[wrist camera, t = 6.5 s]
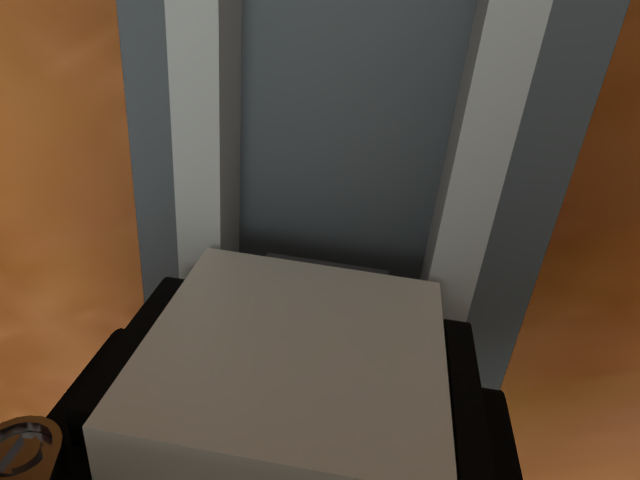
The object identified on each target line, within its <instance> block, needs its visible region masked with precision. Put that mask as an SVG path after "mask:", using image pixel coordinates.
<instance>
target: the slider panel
mask: <svg viewBox="0 0 640 480" xmlns="http://www.w3.org/2000/svg"><path fill="white" fill-rule="evenodd" d="M629 3H630V0H116V5H117V16H118V26H119V37H120V47H121V58H122V69H123V79H124V90H125V101H126V111H127V122H128V133H129V143H130V154H131V165H132V175H133V186H134V197H135V207H136V218H137V228H138V239H139V250H140V260H141V271H142V282H143V292H144V303H145V302H146V301H147V299H148V298H149V297H150V295H151V294H152V293H153V292H154V290H155V289H156V288H157V286H158V285H159V284H160V282H161V281H162V280H163V279H164V278H165V277H173V278H180V279H186V277H187V276H188V274H189V273H190V271H191V270H192V269H193V267H194V266H195V264H196V263H197V261H198V260H199V259H200V257H201V256H202V254H203V253H204V251H205V250H206V249H207V248H213V249H220V250H226V251H233V252H239V253H246V254H253V255H259V256H266V254H267V252H268V253H275V254H281V255H288V256H295V257H301V258H308V259H315V260H321V261H328V262H335V263H341V264H348V265H355V266H361V267H368V268H375V269H381V270H388V271H389V274H388V275H392V276H398V277H405V278H412V279H418V280H425V281H431V282H438V283H440V291H441V302H442V313H443V320H444V319H449V320H456V321H462V322H469V323H471V326H472V332H473V338H474V344H475V350H476V356H477V363H478V369H479V375H480V381H481V387H483V388H489V389H495V390H500V387H501V384H502V381H503V378H504V375H505V372H506V369H507V367H508V364H509V361H510V358H511V355H512V352H513V349H514V346H515V343H516V340H517V337H518V334H519V331H520V328H521V325H522V322H523V319H524V316H525V313H526V310H527V307H528V304H529V301H530V298H531V295H532V292H533V289H534V286H535V283H536V280H537V277H538V274H539V271H540V268H541V265H542V262H543V259H544V256H545V253H546V250H547V247H548V244H549V241H550V238H551V235H552V232H553V229H554V226H555V223H556V220H557V218H558V215H559V212H560V209H561V206H562V203H563V200H564V197H565V194H566V191H567V188H568V185H569V182H570V179H571V176H572V173H573V170H574V167H575V164H576V161H577V158H578V155H579V152H580V149H581V146H582V143H583V140H584V137H585V134H586V131H587V128H588V125H589V122H590V119H591V116H592V113H593V110H594V107H595V104H596V101H597V98H598V95H599V92H600V89H601V86H602V83H603V80H604V77H605V74H606V72H607V69H608V66H609V63H610V60H611V57H612V54H613V51H614V48H615V45H616V42H617V39H618V36H619V33H620V30H621V27H622V24H623V21H624V18H625V15H626V12H627V9H628V6H629Z"/></svg>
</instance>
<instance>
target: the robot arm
mask: <svg viewBox="0 0 640 480" xmlns="http://www.w3.org/2000/svg"><path fill="white" fill-rule="evenodd" d="M184 280H185V279H180V278H173V277H165V278H164V279H163V280H162V281H161V282H160V284H159V285H158V286H157V288H156V289H155V290H154V292H153V293H152V294H151V295H150V297H149V298H148V299H147V301H146V302H145V303H144V305H143V306H142V307H141V309H140V310H139V311H138V312H137V314H136V315H135V316H134V318H133V319H132V320H131V322H130V323H129V324H128V326H127V327H126V328H125V329H122V328H120V329H117V330H115V331H114V332H113V333H112V334H111V336H110V337H109V338H108V339H107V341H106V342H105V343H104V344H103V346H102V347H101V348H100V350H99V351H98V352H97V353H96V355H95V356H94V357H93V358H92V360H91V361H90V362H89V363H88V365H87V366H86V367H85V369H84V370H83V371H82V372H81V374H80V375H79V376H78V377H77V379H76V380H75V381H74V382H73V384H72V385H71V386H70V388H69V389H68V390H67V391H66V393H65V394H64V395H63V396H62V398H61V399H60V400H59V401H58V403H57V404H56V405H55V407H54V408H53V409H52V410H51V412H50V413H49V414H48V415H47V417H43V416H31V415H30V416H23V417H17V418H14V419H11V420H8V421H5V422H2V423H0V480H92V476H91V471H90V465H89V460H88V455H87V449H86V444H85V439H84V434H83V428H82V426H83V425H84V424H85V422H86V421H87V419H88V418H89V416H90V415H91V414H92V412H93V411H94V409H95V408H96V406H97V405H98V403H99V402H100V401H101V399H102V398H103V396H104V395H105V393H106V392H107V391H108V389H109V388H110V386H111V385H112V383H113V382H114V381H115V379H116V378H117V376H118V375H119V373H120V372H121V370H122V369H123V368H124V366H125V365H126V363H127V362H128V360H129V359H130V358H131V356H132V355H133V353H134V352H135V350H136V349H137V348H138V346H139V345H140V343H141V342H142V340H143V339H144V337H145V336H146V335H147V333H148V332H149V330H150V329H151V327H152V326H153V325H154V323H155V322H156V320H157V319H158V317H159V316H160V315H161V313H162V312H163V310H164V309H165V307H166V306H167V304H168V303H169V302H170V300H171V299H172V297H173V296H174V294H175V293H176V292H177V290H178V289H179V287H180V286H181V284H182V283H183V282H184ZM443 325H444V336H445V347H446V359H447V370H448V381H449V393H450V404H451V415H452V426H453V438H454V449H455V460H456V472H457V480H523V478H522V473H521V468H520V464H519V459H518V454H517V450H516V445H515V440H514V435H513V431H512V426H511V421H510V417H509V412H508V407H507V403H506V398H505V395H504V393H503V392H502V391H501V390H495V389H489V388H483V387H481V381H480V375H479V369H478V363H477V356H476V350H475V344H474V338H473V332H472V326H471V323H469V322H462V321H456V320H449V319H444V320H443Z"/></svg>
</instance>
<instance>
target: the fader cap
mask: <svg viewBox="0 0 640 480" xmlns="http://www.w3.org/2000/svg"><path fill="white" fill-rule="evenodd" d="M388 274H389V271H388V270H381V269H375V268H368V267H361V266H355V265H348V264H341V263H335V262H328V261H321V260H315V259H308V258H301V257H295V256H288V255H281V254H275V253H268V252H267V254H266V256H259V255H253V254H246V253H239V252H233V251H226V250H220V249H213V248H207V249H206V250H205V251H204V253H203V254H202V256H201V257H200V259H199V260H198V261H197V263H196V264H195V266H194V267H193V269H192V270H191V271H190V273H189V274H188V276H187V277H186V279H185V280H184V282H183V283H182V284H181V286H180V287H179V289H178V290H177V292H176V293H175V294H174V296H173V297H172V299H171V300H170V302H169V303H168V304H167V306H166V307H165V309H164V310H163V312H162V313H161V315H160V316H159V317H158V319H157V320H156V322H155V323H154V325H153V326H152V327H151V329H150V330H149V332H148V333H147V335H146V336H145V337H144V339H143V340H142V342H141V343H140V345H139V346H138V348H137V349H136V350H135V352H134V353H133V355H132V356H131V358H130V359H129V360H128V362H127V363H126V365H125V366H124V368H123V369H122V370H121V372H120V373H119V375H118V376H117V378H116V379H115V381H114V382H113V383H112V385H111V386H110V388H109V389H108V391H107V392H106V393H105V395H104V396H103V398H102V399H101V401H100V402H99V403H98V405H97V406H96V408H95V409H94V411H93V412H92V414H91V415H90V416H89V418H88V419H87V421H86V422H85V424H84V425H83V426H82V428H83V434H84V439H85V444H86V449H87V455H88V460H89V465H90V471H91V476H92V480H457V472H456V460H455V449H454V438H453V426H452V415H451V404H450V393H449V381H448V370H447V359H446V347H445V336H444V325H443V313H442V302H441V291H440V283H438V282H431V281H425V280H418V279H412V278H405V277H398V276H392V275H388Z"/></svg>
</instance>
